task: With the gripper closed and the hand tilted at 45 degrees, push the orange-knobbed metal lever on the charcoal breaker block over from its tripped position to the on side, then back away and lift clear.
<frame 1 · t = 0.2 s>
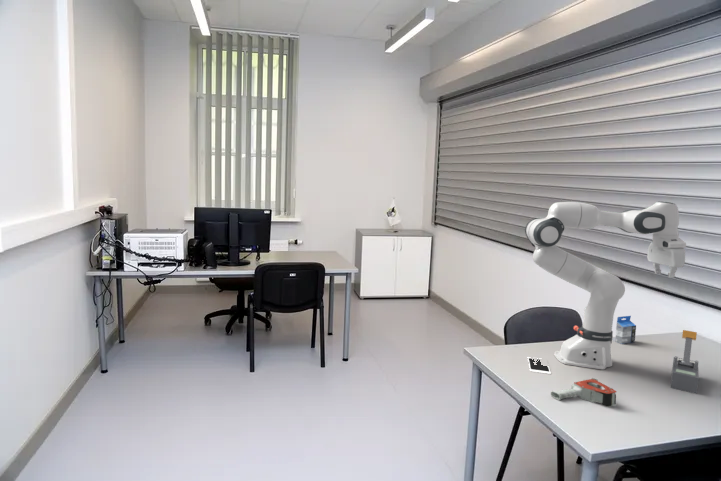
hand: (664, 275, 192), 39 cm above the table, tool pointing down, fingers open, 8 cm apart
cell phone: (538, 366, 193), on the table
tape dispenser: (584, 398, 165), on the table
breaker block: (683, 381, 182), on the table
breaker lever: (687, 349, 183), point 12 cm above the table, hinge at -30.0°
label tape box: (624, 342, 227), on the table
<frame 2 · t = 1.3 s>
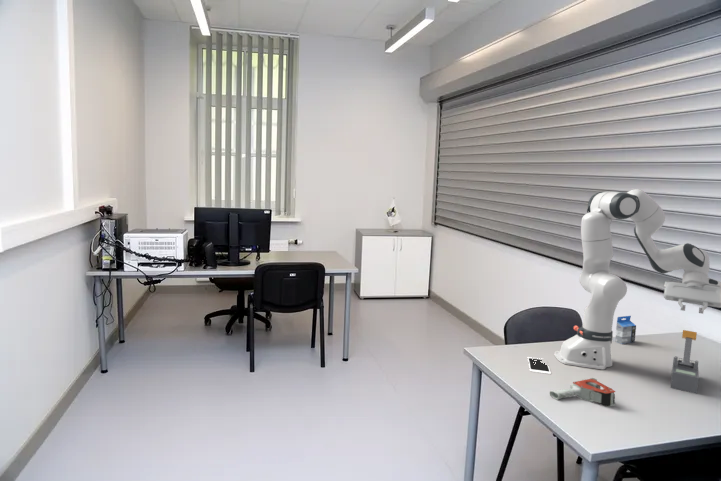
hand: (691, 311, 189), 25 cm above the table, tool tilted 45°, fingers open, 5 cm apart
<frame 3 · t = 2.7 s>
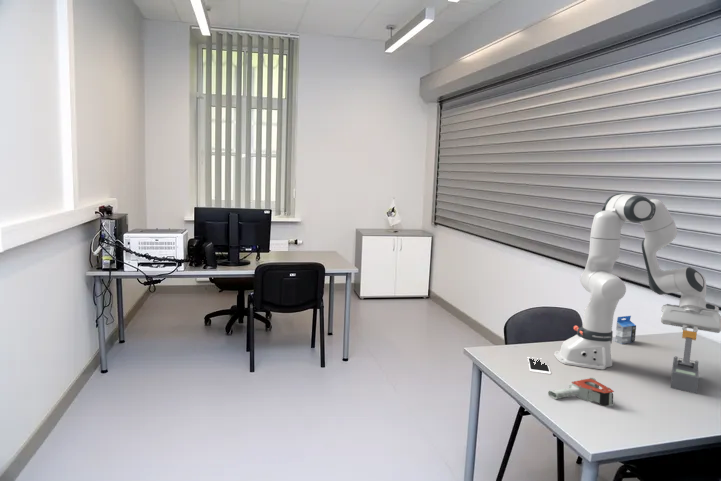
hand: (689, 336, 188), 16 cm above the table, tool tilted 45°, fingers closed
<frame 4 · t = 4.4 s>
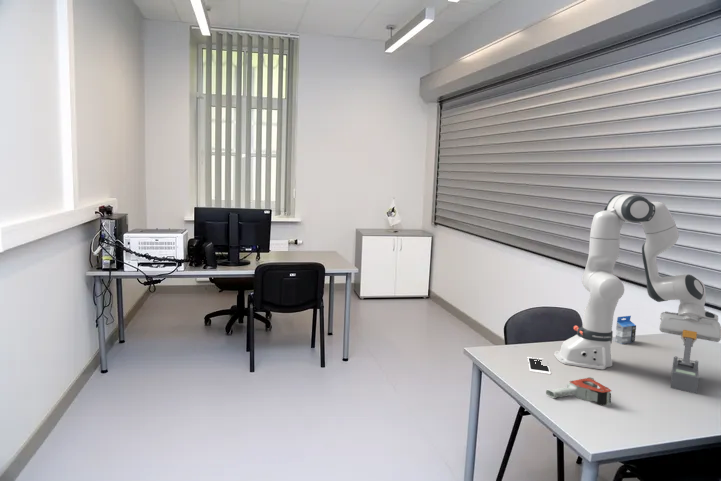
hand: (688, 345, 184), 13 cm above the table, tool tilted 45°, fingers closed, pressing on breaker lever
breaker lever: (687, 348, 183), point 12 cm above the table, hinge at -27.6°, touching gripper
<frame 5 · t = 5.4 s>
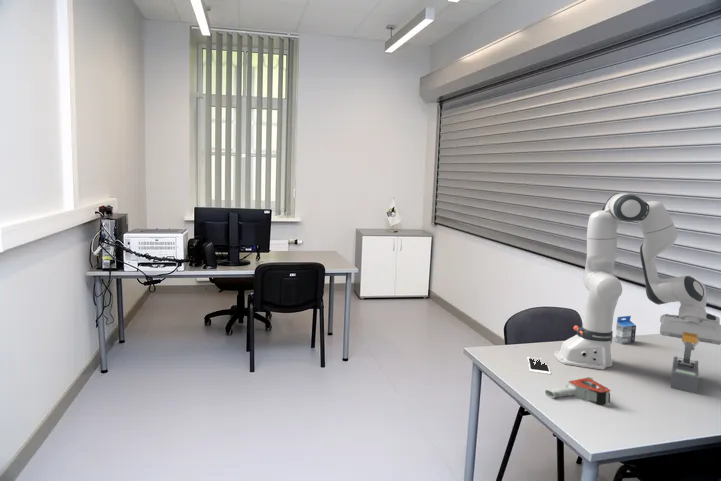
hand: (689, 348, 180), 13 cm above the table, tool tilted 45°, fingers closed, pressing on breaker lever
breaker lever: (687, 350, 179), point 13 cm above the table, hinge at 13.9°, touching gripper
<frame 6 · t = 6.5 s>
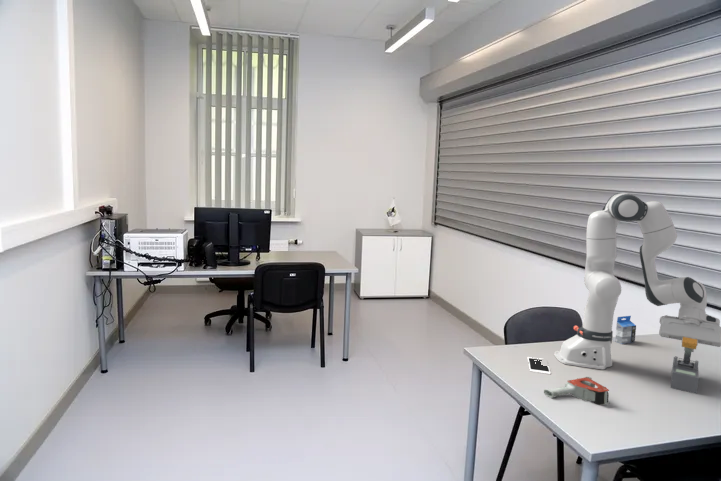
hand: (688, 350, 178), 13 cm above the table, tool tilted 45°, fingers closed, pressing on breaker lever
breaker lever: (687, 353, 178), point 12 cm above the table, hinge at 30.4°, touching gripper
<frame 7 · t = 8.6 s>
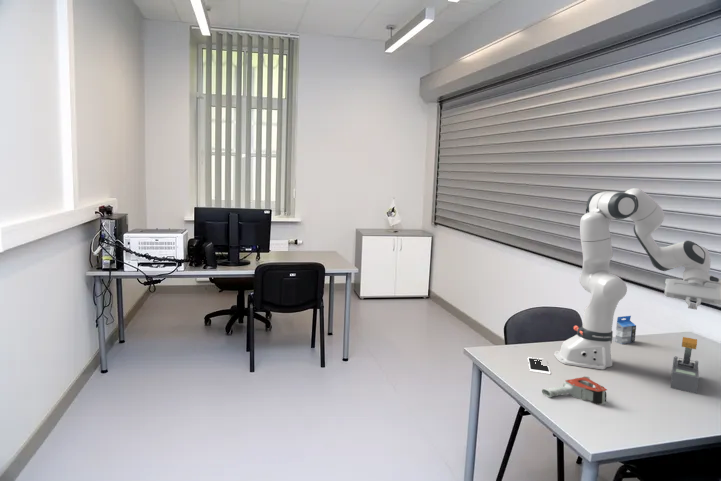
hand: (692, 308, 188), 27 cm above the table, tool tilted 45°, fingers closed
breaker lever: (687, 353, 178), point 12 cm above the table, hinge at 30.4°
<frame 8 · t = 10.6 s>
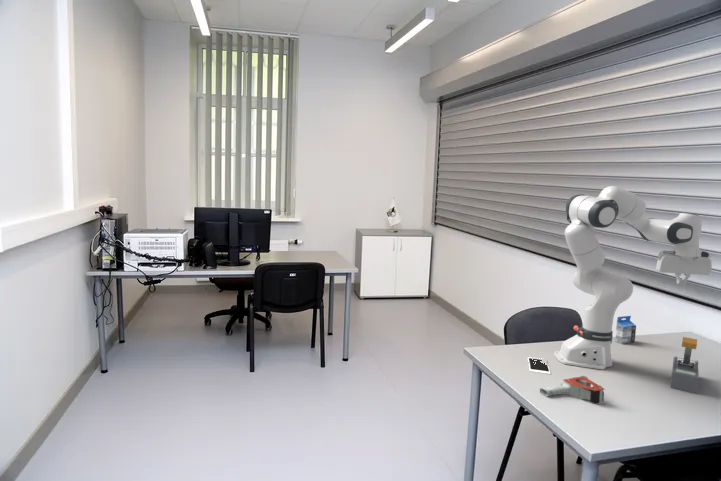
hand: (681, 283, 199), 34 cm above the table, tool pointing down, fingers closed
at the end: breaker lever at +30° (first picture: -30°) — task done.
